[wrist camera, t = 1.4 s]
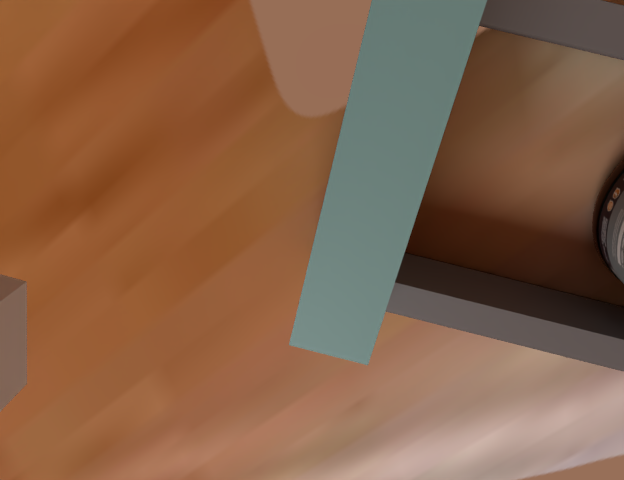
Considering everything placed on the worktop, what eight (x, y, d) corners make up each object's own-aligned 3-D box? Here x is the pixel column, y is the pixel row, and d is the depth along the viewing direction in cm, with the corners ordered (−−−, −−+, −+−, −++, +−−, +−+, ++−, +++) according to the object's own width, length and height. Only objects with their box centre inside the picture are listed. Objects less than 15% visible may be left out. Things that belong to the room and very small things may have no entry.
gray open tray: (385, -40, 27) (388, -70, 18) (936, 89, 26) (1233, 128, 17) (313, 258, 34) (289, 344, 25) (740, 365, 34) (873, 494, 25)
